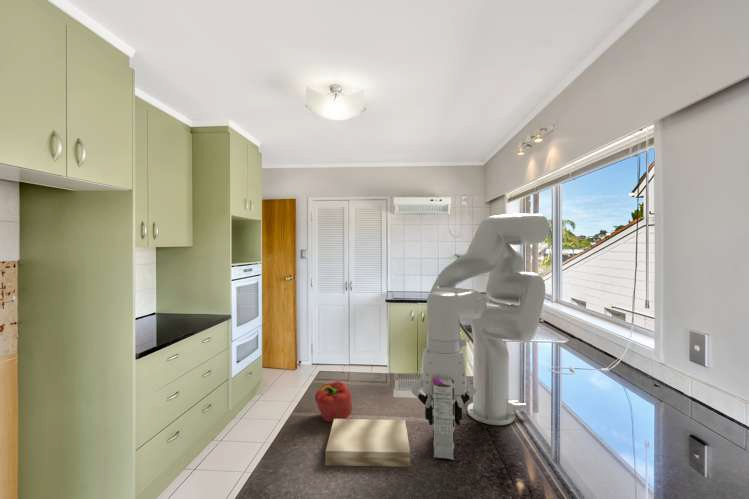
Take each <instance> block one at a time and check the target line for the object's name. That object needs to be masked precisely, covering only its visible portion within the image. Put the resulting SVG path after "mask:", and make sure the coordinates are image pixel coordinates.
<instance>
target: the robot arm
mask: <svg viewBox="0 0 749 499" xmlns="http://www.w3.org/2000/svg"><path fill="white" fill-rule="evenodd" d="M549 234H550V223H549V220H548V218H547V217H546V216H545V215H544V214H541V213H513V214H510V213H509V214H499V215H497V214H496V215H490V216H486V217H485V218H484V219H482V221H481V222H480V224H479V225H478V227H477V230H476V231H475V234H474V236H473V237H472V240H471V242H470V244H469V246H468V248H467V250H466V252H465V253H464V254H463V255H461V256H459V257H458V258H456V259H455V260H454V261H453V262H452V261H451V263H450V264H447V266H446V267H445V268H443V270H441V272H440V273H439V274H438V275H437V277H436V279H435V281H434V283H433V285H432V288H431V289H430V292H429V294H428V295H427V298H426V305H427V306H426V335H427V336H426V347H425V348H424V349H423V352H422V357H421V364H420V365H421V367H420V368H421V369H420V378H419V379H418V380H417V381H416V382H415V383H414V384H413V386H411V388H410V391H411V393H412V395H414V396H415V397H416V398H417V399H418V400H419V402H421V403H422V404H423V405H424V406H425V407H424V411H425V412H424V415H425V416H424V417H425V420H426V421H428V424H429V426H433V387H432V384H433V380H454V411H455V425H456V426H460V424H461V421H462V420H463V408H464V407H465V404H467V402H468V401H469V400H470V399H471V398H472V401H473V402H471V403H469V404H468V405H467V409H466V410H467V414H468V415H469V416H470V417H471V418H472V419H473V420H476V421H478V422H480V423H482V424H487V425H493V426H506V425H509V424H512V423H513V422H514V421H515V416H516V415H515V412H516V411H519V412H526V411H527V409H528V407H527V404H526V403H525V402H523V403H522V402H519V401H518V400H517V399H515V400H512V399H511V400H510V399H509V398H510V396H509V395H510V353H509V350H508V347H507V345H506V343H505V341H504V340H506V341H510V342H517V343H522V344H523V343H526V344H527V343H529V342H532V340H533V339H534V338H535V336H536V334H537V330H538V327H539V323H540V318H541V315H542V310H543V306H544V302H545V298H546V284H545V281H544V278H543V277H542V276H541V275H540V274H538V273H536V272H531V271H524V267H525V259H524V257H523V255H522V253H521V252H520V250H518V249H517V248H516V247H515V246H519V245H520V246H523V245H525V246H526V245H536V244H541V243H543V242H544V241H546V240H547V238H548V236H549ZM487 273H490V274H489V277H488V280H487V282H486V288H485V294H486V296H487V298H488V299H489V300H491V301H492V302H491V301H486V298H485V297H484V295H483V293H481V292H479V291H477V290H474V289H470V288H469V289H468V288H461V287H457V286H458V285H460V284H461V283H463V282H464V281H467V280H470V279H472V278H476V277H479V276H481V275H482V276H483V275H485V274H487ZM463 321H464V322H465V321H467V322H470V325H471V331H472V340H473V341H472V342H473V370H472V373H473V379H472V380H473V381H472V383H473V384H471V382H470V381H469V380H468V379H467V372H466V364H465V357H464V353H463V350H462V347H466V346H467V340H466V339H462V338H461V322H463ZM421 388H422V392H421V391H420V389H421ZM424 394H425V395H424Z"/></svg>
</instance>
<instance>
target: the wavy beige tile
mask: <svg viewBox="0 0 749 499" xmlns="http://www.w3.org/2000/svg"><path fill="white" fill-rule="evenodd" d="M408 437H409V436H408V430H407V425H406V419H377V418H376V419H374V418H372V419H369V418H367V419H364V418H346V419H334V421H333V422H332V425H331V429H330V434H329V436H328V441H327V445H326V447H325V464H324V465H325V466H350V467H352V466H354V467H357V466H358V467H402V468H405V467H407V468H410V467H411V449H410V448H411V447H410V443H409V438H408Z"/></svg>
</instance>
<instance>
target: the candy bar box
mask: <svg viewBox="0 0 749 499" xmlns="http://www.w3.org/2000/svg"><path fill="white" fill-rule="evenodd" d="M432 387H433V400H432V408H433V425H432V446H433V447H432V451H433V452H432V454H433V455H432V456H433V458H435V459H442V460H443V459H444V460H453V461H454V460H456V457H455V456H456V455H455V454H456V451H455V449H456V447H455V446H456V438H455V437H456V434H455V432H456V431H455V430H456V429H455V428H456V426H455V425H456V423H455V411H454V402H455V397H454V380H433V384H432Z"/></svg>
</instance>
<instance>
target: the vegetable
mask: <svg viewBox="0 0 749 499" xmlns="http://www.w3.org/2000/svg"><path fill="white" fill-rule="evenodd" d="M314 398H315V399H314V400H315V403H316V405H317V408H318V410H319V412H320V415H321V417H322V418H323V420H324V421H325V422H329V423H333V421H334V419H348V418H349V417H350V415H351V413H352V410H353V400H352V395H351V391H350V390H349V388H348V386H347V385H346V384H345V383H344V382H342V381H334V382H331V383H330V382H329V383H325V384H323V385H322V386H321V387H320V388H318V389H317V390H316V392H315V394H314Z"/></svg>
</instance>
